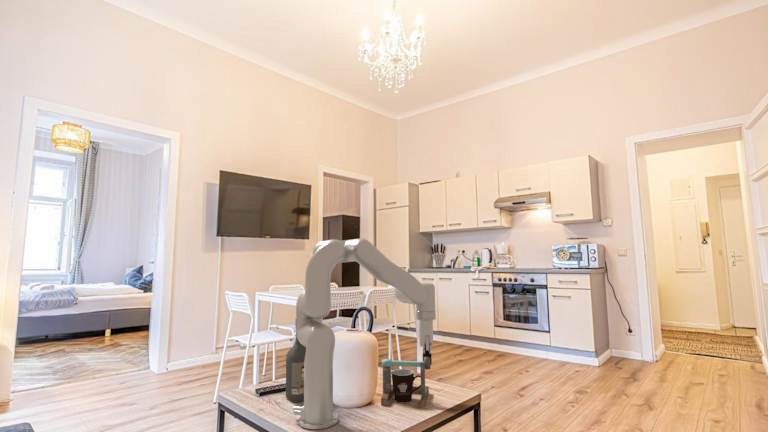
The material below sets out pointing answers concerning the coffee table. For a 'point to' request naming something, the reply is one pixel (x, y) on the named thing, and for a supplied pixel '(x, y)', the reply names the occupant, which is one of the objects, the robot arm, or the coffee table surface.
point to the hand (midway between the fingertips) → (427, 364)
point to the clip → (406, 363)
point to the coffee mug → (403, 384)
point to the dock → (422, 390)
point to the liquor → (295, 372)
